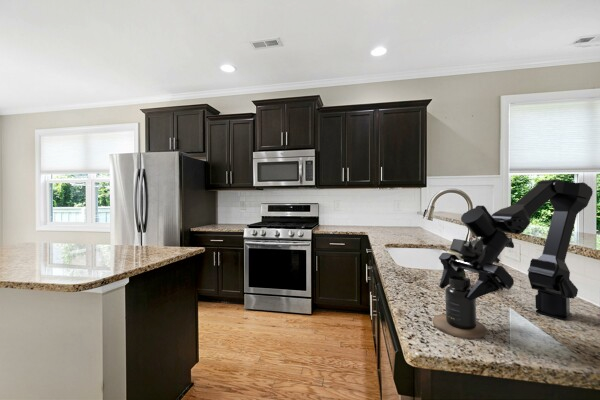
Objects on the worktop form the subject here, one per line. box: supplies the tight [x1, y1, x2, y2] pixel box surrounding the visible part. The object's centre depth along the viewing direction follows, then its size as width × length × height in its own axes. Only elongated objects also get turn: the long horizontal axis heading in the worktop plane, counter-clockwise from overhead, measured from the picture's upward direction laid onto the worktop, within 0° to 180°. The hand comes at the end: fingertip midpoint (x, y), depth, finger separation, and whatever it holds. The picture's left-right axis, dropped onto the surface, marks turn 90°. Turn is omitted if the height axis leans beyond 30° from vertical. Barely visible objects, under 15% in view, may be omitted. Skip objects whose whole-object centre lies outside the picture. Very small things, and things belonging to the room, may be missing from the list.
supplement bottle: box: [444, 276, 477, 330], centre depth 70 cm, size 7×7×12 cm
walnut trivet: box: [432, 313, 487, 339], centre depth 71 cm, size 12×12×1 cm
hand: (453, 293), depth 70 cm, fingers open, 9 cm apart
